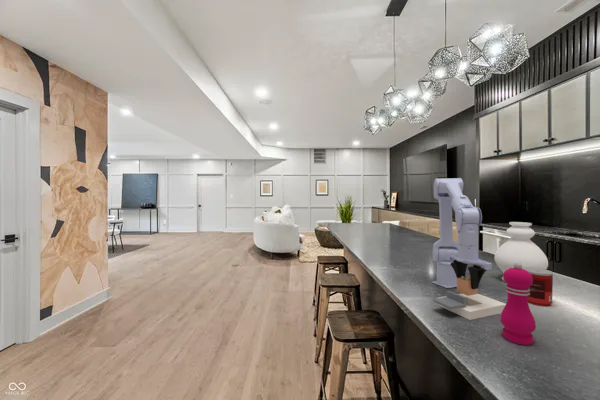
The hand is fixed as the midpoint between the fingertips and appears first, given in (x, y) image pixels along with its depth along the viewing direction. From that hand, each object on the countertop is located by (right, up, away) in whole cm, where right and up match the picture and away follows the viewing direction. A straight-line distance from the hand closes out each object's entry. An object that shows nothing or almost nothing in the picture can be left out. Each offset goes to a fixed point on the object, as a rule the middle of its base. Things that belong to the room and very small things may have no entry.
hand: (467, 286), depth 90 cm
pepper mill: (+2, -8, -18) cm, 20 cm away
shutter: (-7, -5, -2) cm, 9 cm away
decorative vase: (+39, -7, +27) cm, 48 cm away
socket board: (+1, -8, +1) cm, 8 cm away
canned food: (+27, -7, +5) cm, 29 cm away
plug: (0, -2, 0) cm, 2 cm away
